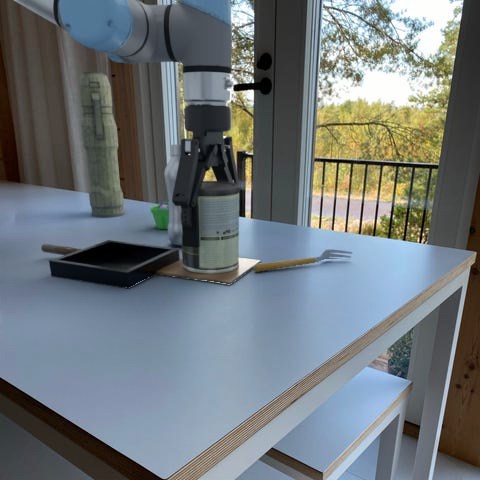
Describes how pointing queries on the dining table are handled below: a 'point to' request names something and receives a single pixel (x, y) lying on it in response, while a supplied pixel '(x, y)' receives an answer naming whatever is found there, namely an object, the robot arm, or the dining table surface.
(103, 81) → the thermos
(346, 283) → the dining table surface
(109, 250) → the pan
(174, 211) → the plastic bottle
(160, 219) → the fruit basket
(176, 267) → the cardboard square
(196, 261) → the coffee can
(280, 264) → the fork
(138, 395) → the dining table surface
